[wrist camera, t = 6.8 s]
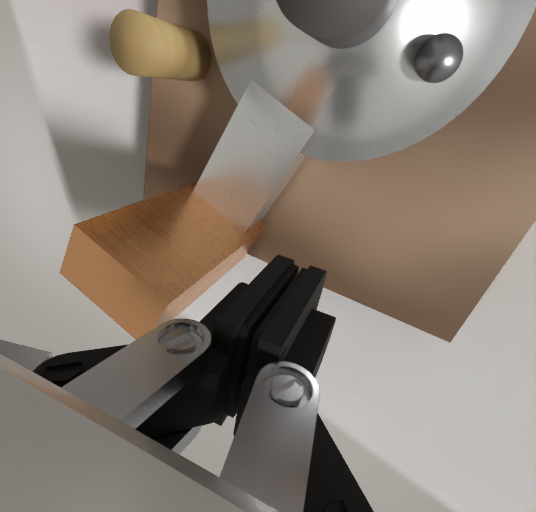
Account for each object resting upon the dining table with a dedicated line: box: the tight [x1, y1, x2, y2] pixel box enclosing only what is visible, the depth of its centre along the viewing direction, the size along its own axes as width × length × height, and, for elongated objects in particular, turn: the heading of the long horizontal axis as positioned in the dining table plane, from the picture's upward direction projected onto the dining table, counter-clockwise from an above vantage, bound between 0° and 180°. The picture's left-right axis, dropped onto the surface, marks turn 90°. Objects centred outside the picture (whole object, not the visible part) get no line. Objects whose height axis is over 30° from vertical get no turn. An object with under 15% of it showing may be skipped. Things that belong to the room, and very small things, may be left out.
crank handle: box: [60, 0, 536, 340], centre depth 8 cm, size 13×8×6 cm, turn 146°
